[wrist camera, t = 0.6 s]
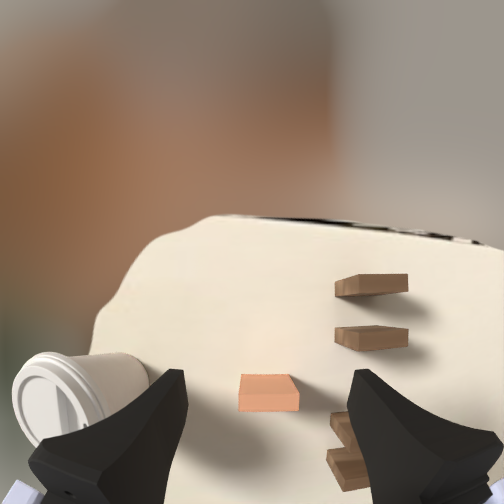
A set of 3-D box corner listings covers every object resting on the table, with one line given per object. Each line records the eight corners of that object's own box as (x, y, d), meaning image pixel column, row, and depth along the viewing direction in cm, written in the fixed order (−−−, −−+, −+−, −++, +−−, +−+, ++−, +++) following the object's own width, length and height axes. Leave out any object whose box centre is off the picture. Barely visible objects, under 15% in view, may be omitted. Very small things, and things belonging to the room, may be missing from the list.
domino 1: (288, 388, 29) (298, 410, 22) (241, 388, 29) (238, 411, 22) (288, 374, 30) (299, 393, 22) (241, 374, 30) (238, 394, 22)
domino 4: (376, 295, 31) (408, 291, 24) (334, 296, 31) (358, 293, 24) (375, 281, 31) (407, 273, 24) (334, 281, 31) (358, 274, 24)
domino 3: (365, 454, 28) (388, 482, 20) (326, 460, 28) (343, 492, 20) (366, 443, 28) (391, 470, 20) (327, 449, 28) (345, 480, 20)
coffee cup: (146, 430, 28) (88, 494, 13) (80, 389, 29) (0, 421, 14) (175, 365, 30) (117, 406, 15) (104, 324, 30) (17, 329, 16)
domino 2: (370, 419, 28) (397, 443, 21) (329, 425, 28) (349, 452, 21) (371, 408, 29) (399, 429, 21) (330, 413, 29) (351, 438, 21)
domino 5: (376, 339, 30) (407, 346, 23) (334, 342, 30) (358, 351, 23) (376, 325, 31) (408, 328, 23) (334, 327, 31) (358, 333, 23)
